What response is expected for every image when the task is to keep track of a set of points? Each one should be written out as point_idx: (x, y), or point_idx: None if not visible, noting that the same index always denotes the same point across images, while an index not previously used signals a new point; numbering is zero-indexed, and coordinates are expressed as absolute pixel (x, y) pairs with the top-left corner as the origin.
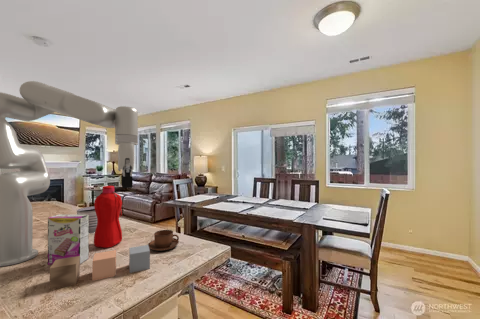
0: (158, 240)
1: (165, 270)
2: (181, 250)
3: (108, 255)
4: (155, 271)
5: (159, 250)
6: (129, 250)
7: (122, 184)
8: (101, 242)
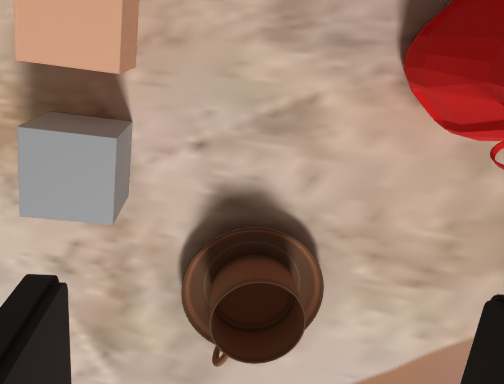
0: (225, 279)
1: (4, 234)
2: (167, 332)
3: (54, 30)
4: (13, 201)
5: (197, 258)
6: (99, 134)
7: (3, 306)
8: (443, 24)
